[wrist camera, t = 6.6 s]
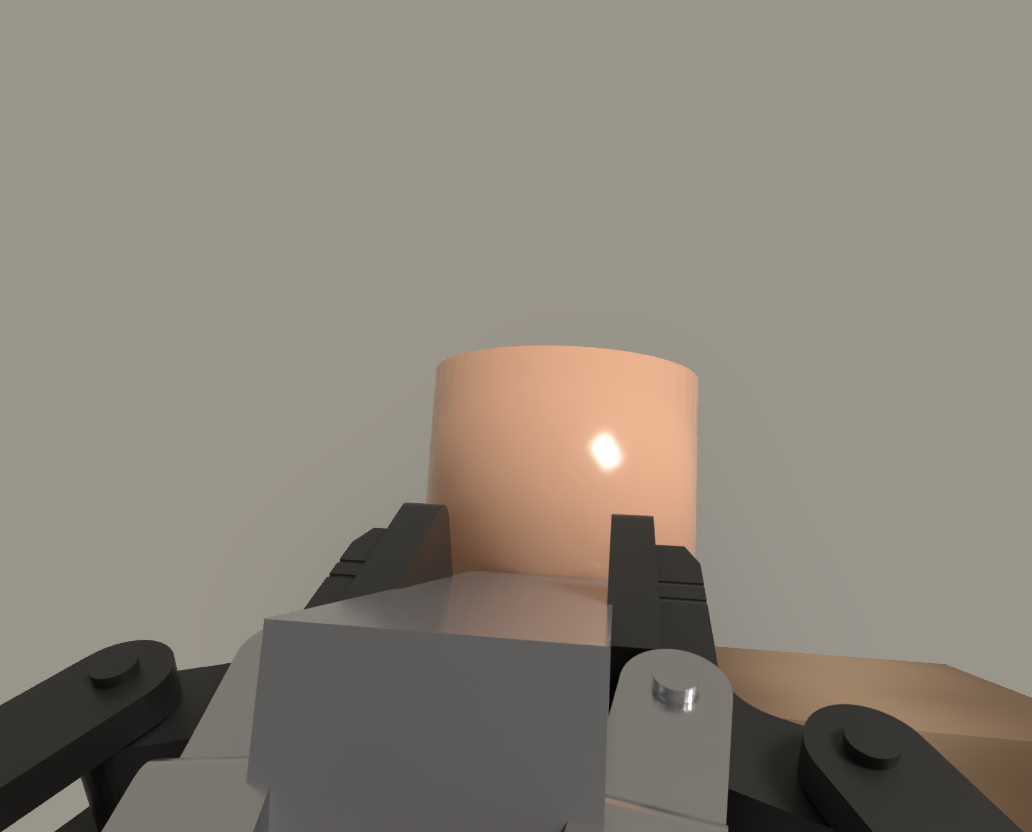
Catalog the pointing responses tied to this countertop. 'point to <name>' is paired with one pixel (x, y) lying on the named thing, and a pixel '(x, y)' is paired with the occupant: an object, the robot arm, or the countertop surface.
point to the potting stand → (905, 710)
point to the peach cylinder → (485, 610)
